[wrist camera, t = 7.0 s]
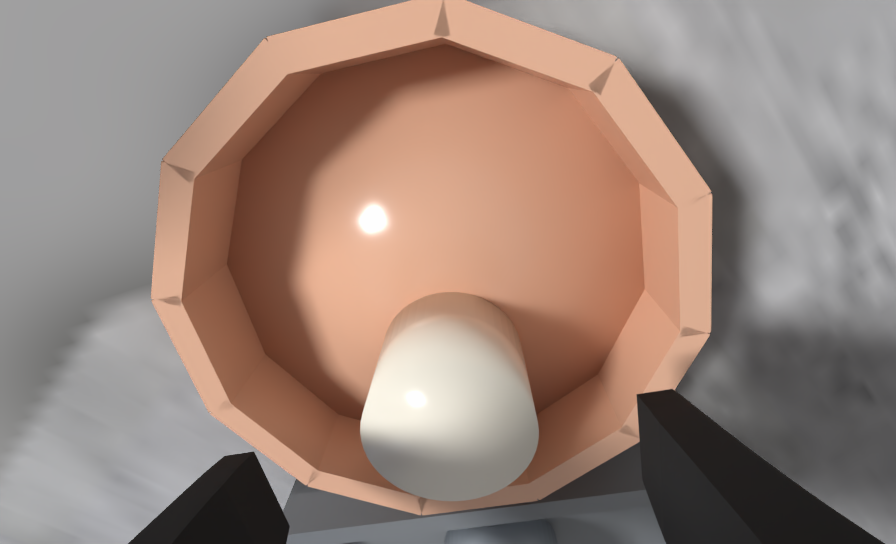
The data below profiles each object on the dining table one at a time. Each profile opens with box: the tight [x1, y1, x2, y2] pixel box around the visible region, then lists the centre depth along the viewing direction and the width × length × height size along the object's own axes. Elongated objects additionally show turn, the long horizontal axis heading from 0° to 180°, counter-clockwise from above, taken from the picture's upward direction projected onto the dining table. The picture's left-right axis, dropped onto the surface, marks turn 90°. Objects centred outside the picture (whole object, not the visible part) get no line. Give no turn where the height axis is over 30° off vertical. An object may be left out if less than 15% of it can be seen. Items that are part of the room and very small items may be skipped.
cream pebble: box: [360, 292, 539, 501], centre depth 11 cm, size 4×4×3 cm
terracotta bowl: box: [151, 0, 712, 515], centre depth 11 cm, size 11×11×3 cm
